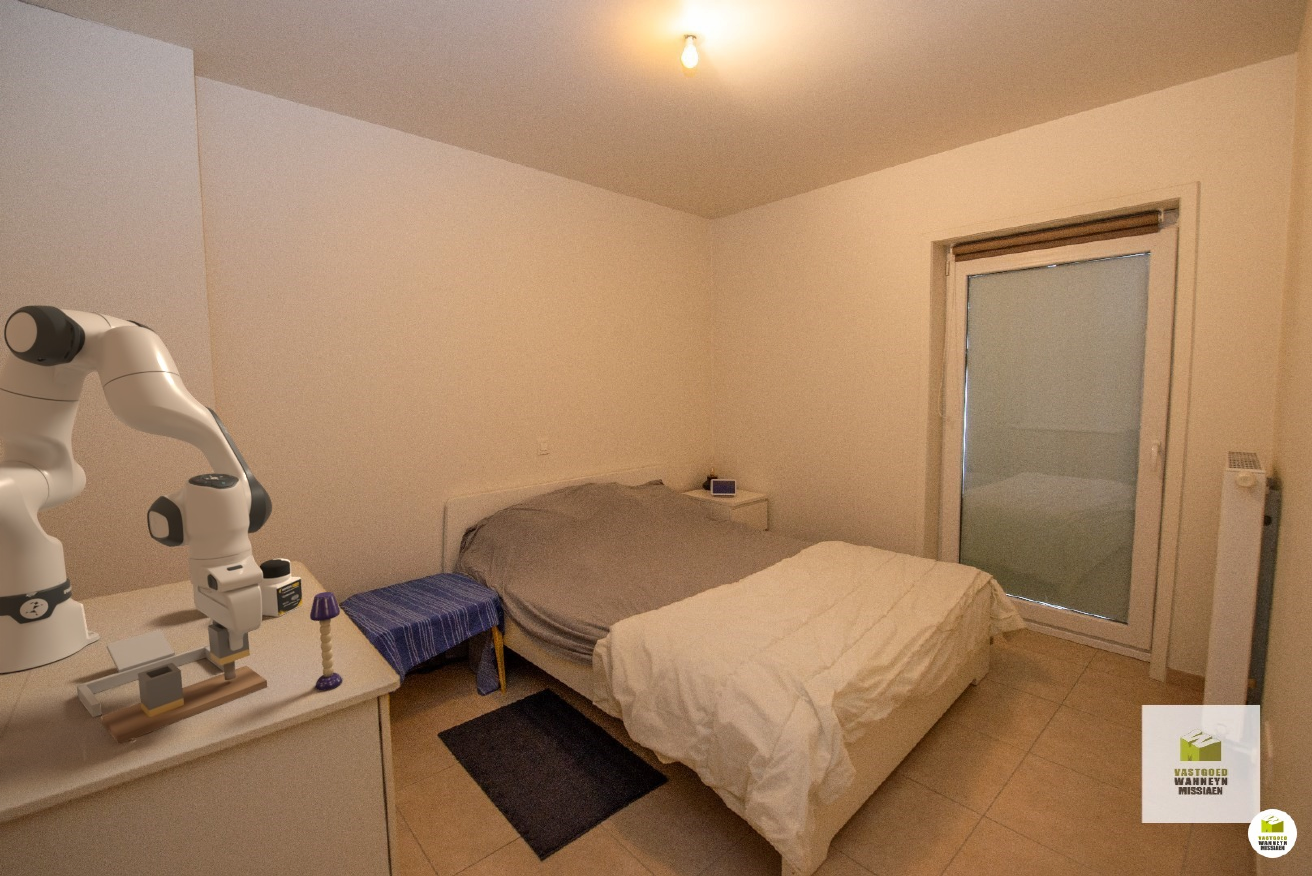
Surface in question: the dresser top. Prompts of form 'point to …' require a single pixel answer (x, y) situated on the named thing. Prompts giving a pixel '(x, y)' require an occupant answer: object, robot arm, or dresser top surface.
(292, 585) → the medicine bottle
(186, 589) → the dresser top surface
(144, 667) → the tray
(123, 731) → the pin board
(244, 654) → the sleeve
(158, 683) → the sleeve
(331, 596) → the toy lamp
